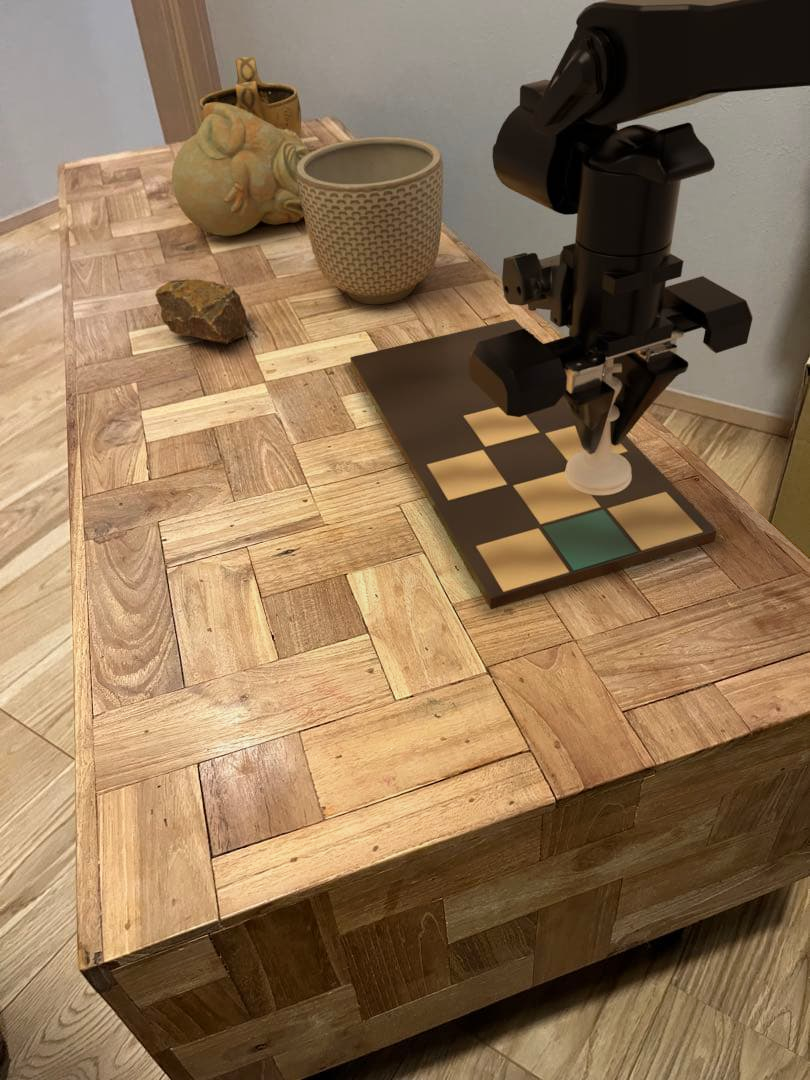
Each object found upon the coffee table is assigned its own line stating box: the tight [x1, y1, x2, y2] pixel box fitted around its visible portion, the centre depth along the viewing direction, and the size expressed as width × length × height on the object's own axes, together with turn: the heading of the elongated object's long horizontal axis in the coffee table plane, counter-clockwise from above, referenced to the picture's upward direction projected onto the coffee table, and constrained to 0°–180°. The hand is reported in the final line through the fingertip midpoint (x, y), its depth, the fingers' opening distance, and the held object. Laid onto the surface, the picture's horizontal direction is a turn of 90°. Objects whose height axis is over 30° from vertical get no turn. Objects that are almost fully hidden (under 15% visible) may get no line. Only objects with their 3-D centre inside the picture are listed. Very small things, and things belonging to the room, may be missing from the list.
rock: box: [154, 279, 247, 345], centre depth 98 cm, size 14×6×10 cm
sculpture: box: [171, 102, 311, 237], centre depth 120 cm, size 18×20×20 cm
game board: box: [349, 318, 718, 609], centre depth 80 cm, size 40×20×1 cm, turn 19°
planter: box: [296, 136, 444, 305], centre depth 101 cm, size 17×17×16 cm
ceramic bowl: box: [199, 56, 302, 138], centre depth 142 cm, size 22×17×15 cm
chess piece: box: [565, 359, 632, 495], centre depth 59 cm, size 5×5×10 cm
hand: (600, 446), depth 60 cm, fingers closed on chess piece
